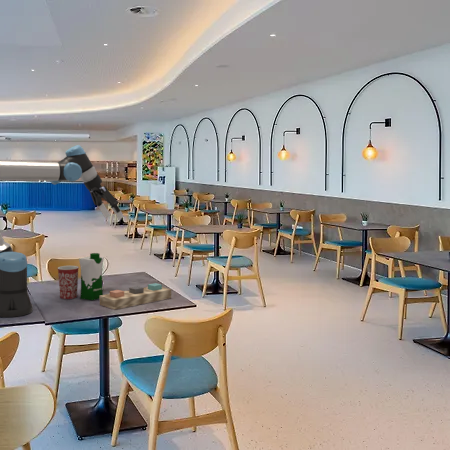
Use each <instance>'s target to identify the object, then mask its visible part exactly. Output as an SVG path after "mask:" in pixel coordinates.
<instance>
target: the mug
mask: <svg viewBox="0 0 450 450" xmlns="http://www.w3.org/2000/svg"><path fill="white" fill-rule="evenodd" d="M56 269H57V272H58V274H57V275H58V284H59V285H58V286H59V297H60V299H62V300H72V299H75V298H77V297H78V286H79V285H78V284H79V283H78V282H79V281H78V280H79V269H80V267H79V266H77V265H63V266H62V265H61V266H58V267H57V268H56Z"/></svg>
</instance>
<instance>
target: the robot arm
mask: <svg viewBox="0 0 450 450" xmlns="http://www.w3.org/2000/svg"><path fill="white" fill-rule="evenodd" d="M65 155H66V156H65V157H64V158H63V159H61V160H60V161H30V160H29V161H27V160H25V161H24V160H0V181H31V182H32V181H34V182H35V181H37V182H38V181H41V182H43V181H46V182H47V181H48V182H50V183H51V184H52V185H54V186H55V185H57V184H60V183H61V182H75V181H78V180H81V181H82V182H83V184H84V186H85V187H86V189H87V190H88V192H89V193H90V196H91V199H92V202H93V205H94V206H97V207H98V209H99V210H100V212H101V213H102V215H103V216H104V218H105V219H107V218H109V217H110V216H111V214H110V212H109V210H108V208H107V207H106V206H105V204H104V201H102V199H103V200H105V202H106V203H108V205H110V208H111V209H112V211H113V213H114V214H115V215H116V217H117V219H118V220H119V221H120V220H121V219H122V218H124V217H125V215H124V213H123V212H122V210H121V209H120V207H119V206H118V204H119V201H118V200H117V199H116V198H115V197H114V195H113V194H112V193H111V192H110V191H109V190H108V188H107V185H104V186H102V185H101V184H102V183H103V180H102V178H101V176H100V174H98V171H97V170H96V166H94V165H93V164H92V162H91V160H90V158H89V156H88V154H87V152H86V151H85V150H84V148H83V146H81V145H80V144H77V145H74V146H72V147H69V148H68V149H67V150H66V151H65ZM28 292H29V291H28V259H27V256H26V254H24V253H22V252H17V251H14V250H13V248H12V245H11V244H10V243H8V242H6V241H5V240H4V237H3V235H2V232H1V231H0V318H14V317H15V318H16V317H22V316H27V315H29V314H31V313H32V312H33V310H34V309H33V307H34V306H33V303H32V302H31V299H30V296H29V293H28Z"/></svg>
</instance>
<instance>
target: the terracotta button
mask: <svg viewBox="0 0 450 450" xmlns="http://www.w3.org/2000/svg"><path fill="white" fill-rule="evenodd" d="M124 291H125V290H121V289H115V290H110V291H109V294H110V296H111V297H114V298H118V297H123V296H124Z"/></svg>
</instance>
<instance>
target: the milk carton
mask: <svg viewBox="0 0 450 450" xmlns="http://www.w3.org/2000/svg"><path fill="white" fill-rule="evenodd" d="M89 254H90V255H89V256H84V257H81V258H78V261H79V266H80V297H79V299H80V300H89V301H95V300H98V299H99V300H100V297H99V296H100V295H104V293H103V262H104V260H105V259H104V257H101V256H100V253H98V252H93V253H92V252H91V253H89Z"/></svg>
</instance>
